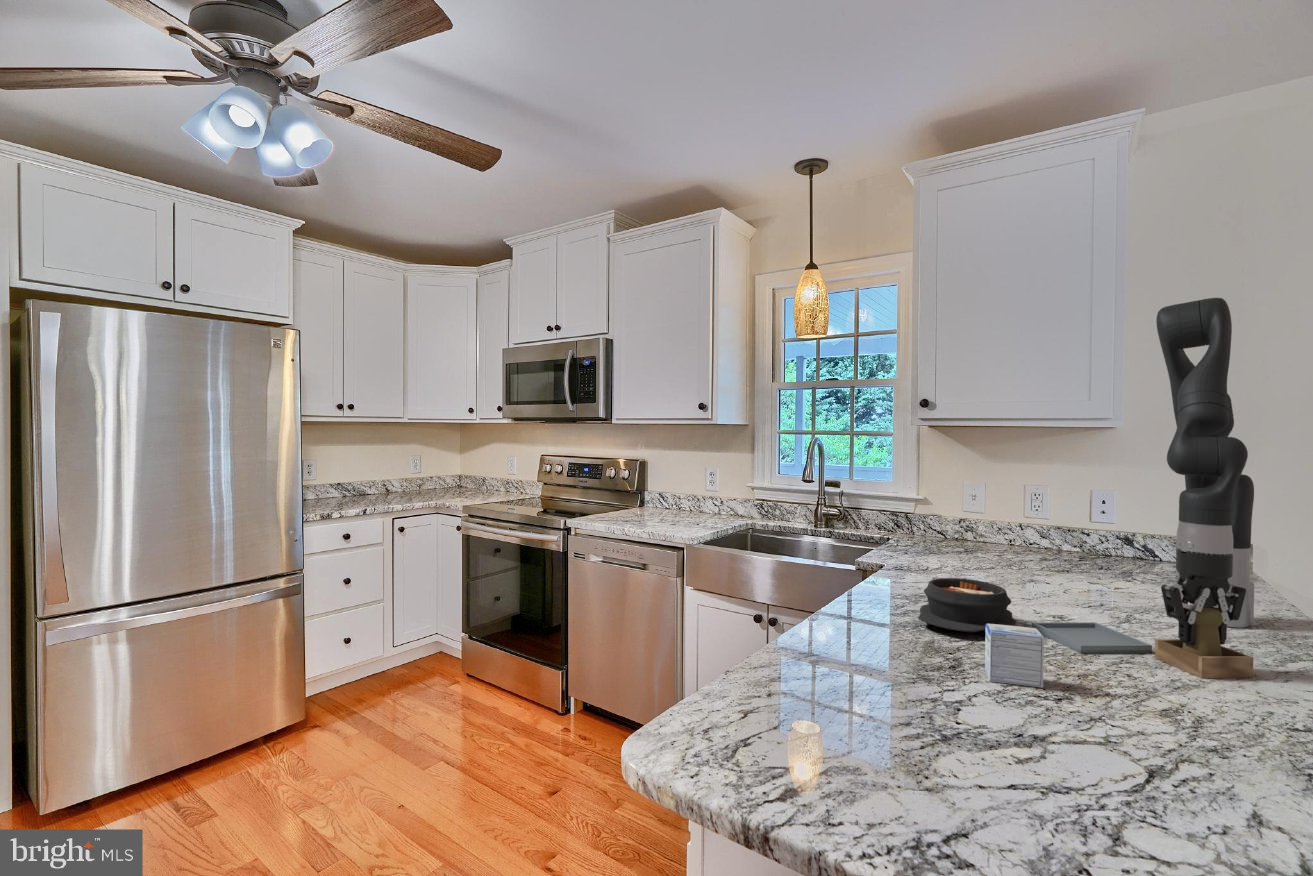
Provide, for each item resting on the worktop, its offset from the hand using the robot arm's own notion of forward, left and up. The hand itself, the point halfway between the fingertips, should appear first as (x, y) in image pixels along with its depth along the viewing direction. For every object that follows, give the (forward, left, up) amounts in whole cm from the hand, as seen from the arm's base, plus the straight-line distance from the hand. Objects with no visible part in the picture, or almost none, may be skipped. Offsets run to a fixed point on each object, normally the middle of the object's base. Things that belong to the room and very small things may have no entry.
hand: (1202, 642), depth 108 cm
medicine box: (+38, +5, -5) cm, 39 cm away
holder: (0, 0, -4) cm, 4 cm away
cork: (0, 0, -5) cm, 5 cm away
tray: (+10, -14, -4) cm, 18 cm away
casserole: (+29, -25, -5) cm, 39 cm away
